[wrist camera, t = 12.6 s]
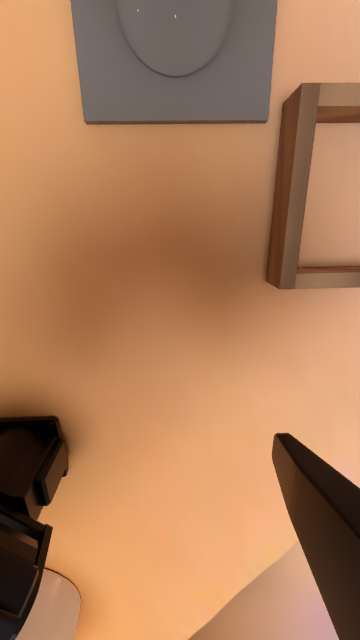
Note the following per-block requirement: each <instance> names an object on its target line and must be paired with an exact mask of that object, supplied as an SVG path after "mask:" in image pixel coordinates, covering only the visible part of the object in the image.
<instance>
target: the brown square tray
mask: <svg viewBox="0 0 360 640" xmlns="http://www.w3.org/2000/svg"><path fill="white" fill-rule="evenodd" d="M347 122H360V83H302V84H301V85H300V86H299V87H298V88H297V89H296V90H295V91H294V92H293V93H292V94H291V95H290V97H289V98H288V99H287V100H286V101H285V102H284V103H283V109H282V120H281V131H280V141H279V152H278V163H277V174H276V185H275V196H274V207H273V218H272V229H271V239H270V250H269V261H268V272H267V282H268V283H270V284H271V285H273V286H275V287H276V288H278V289H312V288H351V287H360V266H347V267H304V268H297V266H298V258H299V250H300V242H301V235H302V227H303V219H304V211H305V203H306V196H307V188H308V180H309V172H310V164H311V157H312V149H313V141H314V133H315V125H316V123H347Z"/></svg>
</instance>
